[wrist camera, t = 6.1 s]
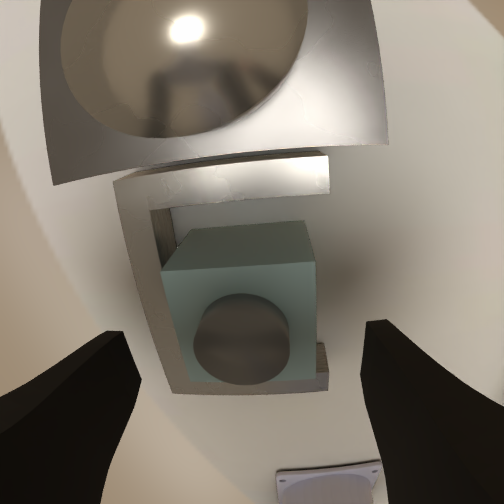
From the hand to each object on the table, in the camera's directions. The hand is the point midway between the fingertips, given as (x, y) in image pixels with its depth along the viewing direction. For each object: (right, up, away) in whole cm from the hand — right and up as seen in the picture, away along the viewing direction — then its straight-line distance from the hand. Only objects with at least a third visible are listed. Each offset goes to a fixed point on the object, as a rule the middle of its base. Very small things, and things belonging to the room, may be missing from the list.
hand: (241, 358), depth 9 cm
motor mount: (0, +5, +3) cm, 6 cm away
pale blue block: (0, +2, +5) cm, 5 cm away
